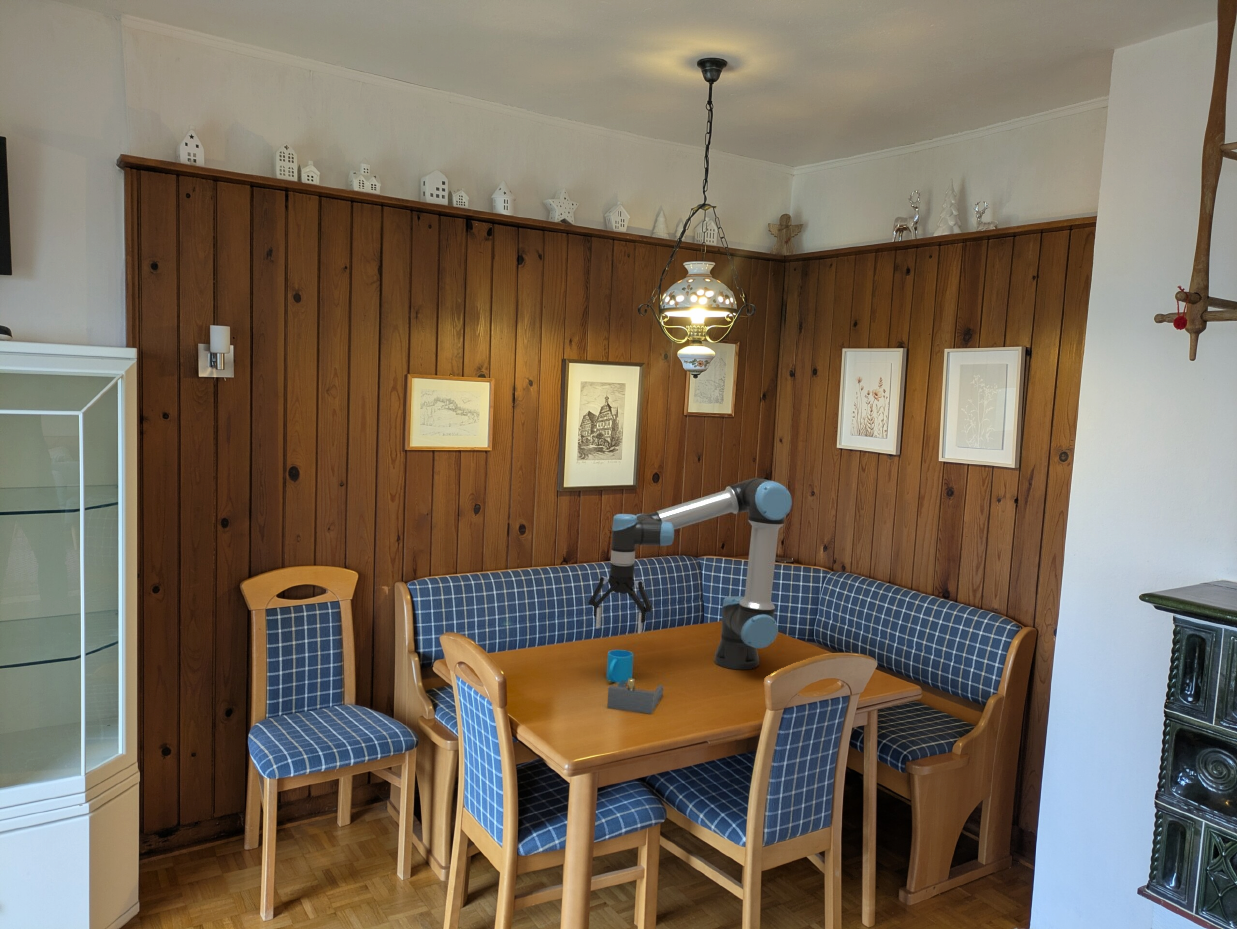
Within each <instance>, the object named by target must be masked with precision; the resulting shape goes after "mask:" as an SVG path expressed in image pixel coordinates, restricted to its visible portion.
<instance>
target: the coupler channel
mask: <svg viewBox="0 0 1237 929" xmlns="http://www.w3.org/2000/svg"><path fill="white" fill-rule="evenodd" d="M635 682H636V679H635V678H633V677H632V678H629V679H628V682H627V681H625V680H622V681H621V682H620V683H618V684H617V685H609V686H608V688H607V708H608V709H613V710H618V711H619V710H620V711H626V712H627V711H628V712H634V713H643V714H649V715H652V714H653V712H654V710H656V709H655V708H656V707H657V706H658V704H659V702H660V701H661V698H662V697H663V695H664V685H661V684H658V685H657V686H656V688H655V689H654V690H646V689H639V688H635V686H636V683H635Z"/></svg>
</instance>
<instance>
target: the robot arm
mask: <svg viewBox="0 0 1237 929" xmlns="http://www.w3.org/2000/svg"><path fill="white" fill-rule="evenodd" d="M792 500H793V499H792V495H791V493H790V491H789V489H788V488H787V487H786V486H784V485H782V484H781V483H780V482H777V481H775V480H774V481H773V480H769V479H766V478H762V477H754V478H750V479H747V480H744V481H741V482H738V483H735V484H731V485H729V486H726V488H725V489H724V490H722V491H719V492H715V493H712V494H708V495H706V496H703V497H699V498H696V499H693V500H689V501H685V502H682V503H679V504H676V505H673V506H670V507H667V508H663V509H660V510H657V511H653V512H649V513H638V514H636V515H635V514H630V513H629V514H628V513H617V514H615V515H614V516H613V519H612V527H611V531H612V532H611V551H610V562H611V564H610V566H609V570H610V571H609V577H606V576H605V575H602V576H601V577H600V578H599V581H598V585H597V586H596V588H595V590H594V592H593V593H592V595H591V596H590V599H589V601H588V605H590V606H591V607H593V617H594V618H596V621H595V622H596V623H595V628H596V629H600V628H601V624H602V609H603V608H602V606H601V604H602V603H603V602H604V601H605V600H606V599H607V598H608V597H609V596H610V595H611V594H612V593H613V592H614V593H616V594H622V595H623V594H624V595H625V594H627V595H628V596H629V597H630V598H631V600H632V601H633V603H635V605H636V606H637V607H638V610H639V612H638V621H637V622H638V624H637V634H641V633H642V632H643V623H644V624H645V623H646V620H647V613H648V612H651V611H652V610H653V606H652V604H651V601H650V598H649V596H648V593H647V591H646V588H645V586H644V583H645V582H644V580H643V579H641V580H635V578H634V577H635V565H634V564H635V562H636V561H635V560H636V559H635V558H636V546H661V547H663V546H670V545H672V544H673V542H674V539H675V530H678V529H680V528H683V527H686V526H691V525H693V524H697V523H700V522H703V521H706V520H710V519H713V518H717V517H719V516H723V515H726V514H729V513H733V514H734V515H736V514H740V513H745V512H748V516H747V517H748V518H747V521H748V522H749V524H750V525H751V534H750V541H749V542H750V543H749V552H748V562H747V572H746V580H745V590H744V596H739V595H738V596H727V597H725V598H724V599H723V604H722V611H721V612H722V614H721V631H720V641H719V644H718V646H717V648H716V651H715V653H714V662H715V664H716V665H718V666H720V667H723V668H727V669H731V670H741V671H743V670H745V671H746V670H752V668H753V669H756V668H757V666H758V665H759V664H760V657H759V653H758V650H757V649H763V648H766V647H767V648H768V646H770V645H771V644H773V642H774V641H775V640H776V638H777V636H778V633H779V626H778V623H777V621H776V619H775V610H776V607H775V605H774V603H773V602H772V594H773V583H774V577H775V576H774V575H775V573H774V572H775V565H776V556H777V548H778V547H777V546H778V538H779V530H780V528H781V527H783V526H784V525H785V519H786V517H787V515H788V514H789V513H790V512H791V509H792V505H793V501H792ZM607 582H608V584H609V586H610V587H609V588H608V590H607V591H606V592H605V593H604V594H602V596H601V597H600V598H598V600H597V601H596V599H597V597H598V596H599V595H600V592H601V591H602V590H603V587H604V586H605V585H606V584H607ZM634 586H635V587H636V588H637V589H638V592H639V594H640V597H641V598H640V597H639V596H638V594H637V592H636V591H635V590H634V588H633V587H634ZM641 599H642V600H641ZM755 667H756V668H755Z"/></svg>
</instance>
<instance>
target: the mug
mask: <svg viewBox="0 0 1237 929" xmlns="http://www.w3.org/2000/svg"><path fill="white" fill-rule="evenodd" d="M606 662H607V663H606V680H608V681H609V682H613V683H618V684H619V683H620V682H621V681H622V680H625V681H627V683H628V679H629V678H633V670H634V669H633V666H634V653H633V652H632V651H629V650H625V649H613V650H609V651H608V652H607V661H606Z"/></svg>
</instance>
